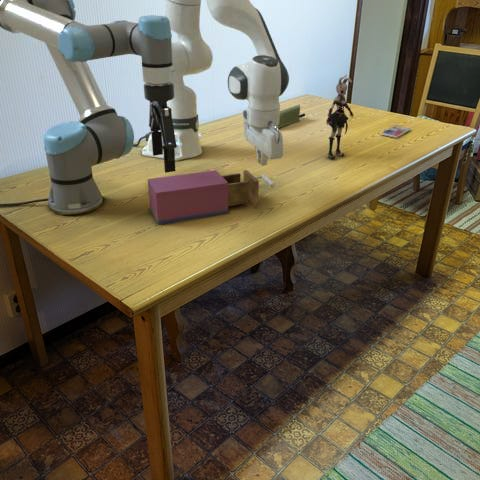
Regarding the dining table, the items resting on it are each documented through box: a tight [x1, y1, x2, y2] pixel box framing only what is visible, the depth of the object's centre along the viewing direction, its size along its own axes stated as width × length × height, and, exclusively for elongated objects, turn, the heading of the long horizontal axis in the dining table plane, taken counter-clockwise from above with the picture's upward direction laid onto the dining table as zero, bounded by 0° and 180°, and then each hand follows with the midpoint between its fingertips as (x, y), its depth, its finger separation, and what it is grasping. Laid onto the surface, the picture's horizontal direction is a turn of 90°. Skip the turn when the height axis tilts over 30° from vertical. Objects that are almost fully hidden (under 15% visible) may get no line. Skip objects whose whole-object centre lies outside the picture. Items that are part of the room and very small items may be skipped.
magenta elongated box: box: [147, 169, 229, 225], centre depth 145 cm, size 21×10×10 cm, turn 111°
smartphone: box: [380, 124, 411, 139], centre depth 215 cm, size 7×1×15 cm
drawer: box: [221, 169, 276, 207], centre depth 150 cm, size 25×9×7 cm, turn 111°
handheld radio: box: [277, 104, 306, 129], centre depth 223 cm, size 7×3×25 cm
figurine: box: [325, 74, 354, 160], centre depth 182 cm, size 15×6×30 cm, turn 132°
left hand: (163, 162), depth 138 cm, fingers open, 13 cm apart
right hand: (262, 163), depth 149 cm, fingers closed
